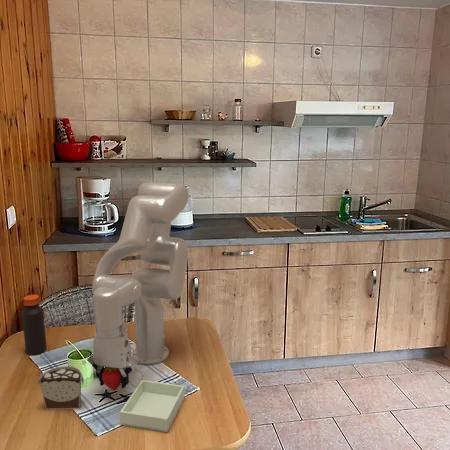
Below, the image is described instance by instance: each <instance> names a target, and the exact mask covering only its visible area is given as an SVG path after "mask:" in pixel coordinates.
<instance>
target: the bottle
mask: <svg viewBox="0 0 450 450" xmlns="http://www.w3.org/2000/svg"><path fill="white" fill-rule="evenodd" d="M23 306H24V307H25V308H24V309H23V310H22V311H21V316H22V317H21V318H22V329H23V337H24V338H23V340H24V346H25V349H24V350H25V353H26V354H27V355H31V356H37V355H40V354H42V353H44V352H46V350H47V349H48V348H47V347H48V346H47V339H46V325H45V315H44V308H43V307H41V306H40V296H39V295H38V294H29V295H26V296H24V297H23Z"/></svg>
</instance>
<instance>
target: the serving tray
mask: <svg viewBox="0 0 450 450" xmlns="http://www.w3.org/2000/svg"><path fill="white" fill-rule="evenodd" d="M185 388H186V387H185V385H180V384H174V383H173V384H172V383H165V382H160V381H153V380H144V379H141V381H140V382H139V384H138V385H137V386H136V388H135V390H134V391H133V392H132V394H131V395H130V397H129V398H128V399H127V401H126V402H125V404H124V405H123V406H122V408H121V410H119V425H120V426H122V427H123V426H125V427H131V428H137V429H142V430H149V431H154V432H161V433H168V432H169V431H170V429H171V426H172V424H173V422H174V420H175V418H176V416H177V415H178V413H179V411H180V408H181V406H182V404H183V402H184V400H185V395H186V394H185V393H186V392H185V391H186V390H185Z"/></svg>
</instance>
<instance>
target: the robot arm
mask: <svg viewBox="0 0 450 450" xmlns="http://www.w3.org/2000/svg"><path fill="white" fill-rule="evenodd" d="M137 189H138V190H137V195H135V196H133V197H132V198H131V199H130V201H129V203H128V205H127V210H126V212H125V213H126V214H125V216H124V221H123V225H122V229H121V232H120V236H119V239H118V240H117V242H116V243H115V244H114V245H112V246H111V247H110V248H109V249H108V250H107V251H106V252H105V253H104V255H102V257H101V258H100V260H99V262H98V263H97V266H96V269H95V273H94V276H93V280H92V285H91V286H92V287H91V291H92V303H93V305H92V306H93V313H94V323H95V324H94V325H95V326H94V327H95V332H94V335H93V336H94V337H93V341H92V342H93V344H92V353H91V354H90V355H89V356H88V357H87V359H86V360H87V362H88V363H89V364H90V365H91V366H92V368H93V369H94V370H95V372H96V373H97V374H98V381H99V386H101V387H103V386H105V384H104V382H103V380H102V373H103V371H104V370H105V369H106V368H107V367H112V368H119V370H120V372H121V374H122V376H121V384H120V387H121V389H125V388H126V387H127V386H128V385H129V383H130V379H129V377H130V376H129V374H130V373H132V371H133V370H135V369H136V368H137V367H138V365H139V364H140V365H147V366H148V365H157V364H159V363H162V362H164V361H165V360H167V359H168V357H169V355H170V351H169V348H168V347H167V346H165V338H166V334H165V329H164V327H165V324H164V323H165V322H164V320H165V319H164V306H163V305H164V304H163V302H162V300H161V299H164V300H171V301H172V300H173V301H174V300H177V299H179V298H180V297H181V295H182V293H183V289H184V284H185V279H186V273H187V267H188V261H189V246H188V243H187V241H185V240H184V239H183V238H181V237H174V236H173V237H172V236H170V234H171V227H172V222H173V221H174V220H176V219H177V217H178V216H179V214H181V212H182V211H183V210H184V209H185V208H186V207H187V204H188V202H189V198H190V196H189V190H188V188H187V186H185V185H184V184H182V183H172V182H171V183H170V182H158V181H149V182H143V183H141V184H140V185H139V187H138V188H137ZM137 253H140V258H141V260H142V261H143V262H145V263H147V264H152V265H159V266H160V265H162V266H169V269H164V268H160V267H159V268H157V267H149V266H145V267H144V266H143V267H138V268H135V270H134V271H133V272H132V274H131V276H130V277H124V276H119V275H117V276H116V275H111V274H112V271H113V269H114V267H115V266H116V265H117V264H118V262H120V261H121V260H123V259H124V258H126V257H129V256H131V255H133V254H137ZM133 304H134V323H135V326H134V327H135V348H134V349H133V350H131V343H130V339H129V335H128V333H127V332H128V330H129V329H128V327H127V326H125V325H124V324H125V323H124V320H123V319H124V318H123V309H124V308H127V307H128V306H131V305H133ZM128 363H129V365H128Z"/></svg>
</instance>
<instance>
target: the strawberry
mask: <svg viewBox="0 0 450 450" xmlns="http://www.w3.org/2000/svg"><path fill="white" fill-rule="evenodd" d="M105 368H106V369H105V370H104V371H103V373H102V380H103V382H104V386H106V388H107V387H108V389H110V390H112V391H114V392H115V391H117V390H118V389H119V387H121V376H122V374H121V372H120V370H119V368H112V367H105Z"/></svg>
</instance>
